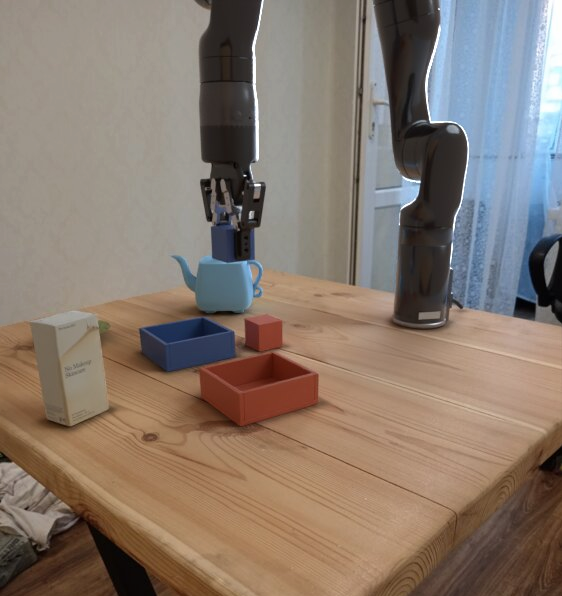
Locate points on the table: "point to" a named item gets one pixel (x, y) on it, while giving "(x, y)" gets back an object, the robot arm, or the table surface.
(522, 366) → the table surface
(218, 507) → the table surface
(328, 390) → the table surface
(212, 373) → the red bin
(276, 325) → the red block
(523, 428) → the table surface
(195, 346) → the blue bin
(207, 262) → the teapot
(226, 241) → the blue block
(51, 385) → the cosmetic box
